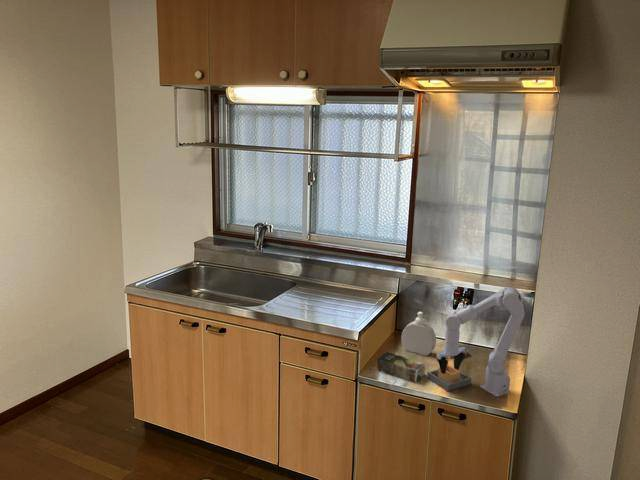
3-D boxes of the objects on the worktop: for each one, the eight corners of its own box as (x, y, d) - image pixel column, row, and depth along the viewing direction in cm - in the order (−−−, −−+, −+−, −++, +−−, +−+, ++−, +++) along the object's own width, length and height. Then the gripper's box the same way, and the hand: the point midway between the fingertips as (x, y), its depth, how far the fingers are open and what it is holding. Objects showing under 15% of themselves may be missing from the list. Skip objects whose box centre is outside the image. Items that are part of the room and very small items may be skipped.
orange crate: (459, 382, 236) (460, 371, 235) (450, 385, 234) (451, 374, 232) (446, 374, 243) (446, 364, 242) (437, 377, 240) (438, 366, 239)
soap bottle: (400, 349, 269) (402, 310, 265) (404, 345, 274) (406, 307, 269) (431, 357, 261) (434, 317, 256) (435, 353, 265) (438, 314, 261)
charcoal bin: (470, 384, 236) (471, 378, 235) (447, 391, 230) (448, 385, 229) (449, 372, 247) (450, 365, 246) (427, 378, 240) (427, 372, 240)
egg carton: (451, 360, 259) (452, 352, 258) (441, 353, 266) (442, 346, 265) (469, 356, 264) (470, 348, 263) (459, 349, 271) (459, 342, 270)
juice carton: (427, 375, 244) (428, 362, 243) (417, 383, 236) (418, 370, 235) (386, 363, 255) (387, 350, 254) (376, 371, 247) (376, 358, 246)
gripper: (457, 334, 241) (455, 363, 244) (432, 341, 234) (430, 370, 237) (469, 340, 235) (467, 370, 238) (443, 347, 228) (441, 377, 231)
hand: (449, 371), depth 237 cm, fingers open, 7 cm apart
